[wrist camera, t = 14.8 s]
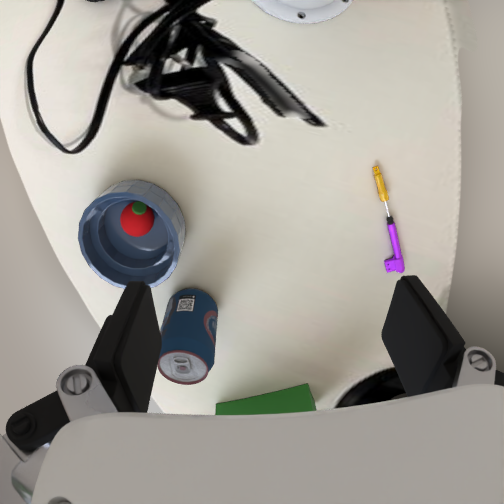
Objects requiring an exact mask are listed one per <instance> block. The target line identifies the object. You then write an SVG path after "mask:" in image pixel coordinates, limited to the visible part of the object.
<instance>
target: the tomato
mask: <svg viewBox="0 0 504 504" xmlns="http://www.w3.org/2000/svg"><path fill="white" fill-rule="evenodd" d="M120 222H121V226H122V228H123V230H124V231H125V232H126V233H127V234H129V235H131V236H135V237H139V236H143V235H145V234H147V233H148V232H149V231H150V230H151V229H152V227H153V224H154V214H153V211H152V209H151V208H150V207H149V206H148V205H146V204H145V203H143V202H141V201H137V202H132V203H130V204H128V205H127V206H126V207H125V208H124V209H123V211H122V213H121V217H120Z"/></svg>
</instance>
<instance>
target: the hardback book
mask: <svg viewBox="0 0 504 504" xmlns="http://www.w3.org/2000/svg"><path fill="white" fill-rule="evenodd" d="M309 411H316V406H315V402H314V400H313V397H312V394H311V391H310V389H309V386H308V383H307V384H304V385H300V386H296V387H292V388H288V389H284V390H280V391H276V392H272V393H267V394H263V395H259V396H254V397H249V398H245V399H240V400H235V401H229V402H224V403H219V404H216V415H263V414H282V413H297V412H309Z"/></svg>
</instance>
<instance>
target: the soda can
mask: <svg viewBox="0 0 504 504" xmlns="http://www.w3.org/2000/svg"><path fill="white" fill-rule="evenodd" d="M217 317H218V309H217V305H216V303H215V302H214V300H213V299H212V298H211V297H210V296H209V295H208V294H207V293H205V292H204V291H202V290H199V289H194V288H189V289H184V290H182V291H179V292H177V293H176V294H174V295H173V296H172V297H171V298H170V300H169V302H168V305H167V309H166V312H165V316H164V320H163V323H162V327H161V331H160V334H161V339H162V348H161V352H160V356H159V361H158V369H159V371H160V373H161V374H162V375H163V376H164V377H165V378H166V379H168V380H170V381H172V382H175V383H178V384H184V385H191V384H196V383H199V382H201V381H203V380H204V379H205V378H206V377H207V375H208V372H209V371H210V370H211V368H212V367H213V365H214V357H215V343H216V329H217Z"/></svg>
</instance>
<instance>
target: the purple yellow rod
mask: <svg viewBox="0 0 504 504" xmlns="http://www.w3.org/2000/svg"><path fill="white" fill-rule="evenodd" d="M376 168H377V170H375V169H376ZM373 170H374V173H375V174H374V177H375V181H376V184H377V187H378V194H379V197H380V201H382V202H385V206H386V209H387V213H388V217H387V221H388V222H387V225H388V229H389V233H390V238H391V242H392V246H393V251H394V255H395V256H393V258H392V259H389V260H385V261H384V262H385V266H386V270H387V273H388V272H391V271H395V270H396V272H399V273H403V271H404V269H405V267H404V262H403V257H402V255H401V250H400V245H399V240H398V236H397V231H396V227H395V223H394V221H393V218H392V216H390V214H389V211H388V207H387V203H386V201H387V200H389V196H388V192H387V190H386V188H385V184H384V181H383V177H382V174H381V173H380V171H379V167H378V166H375V167H373Z"/></svg>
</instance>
